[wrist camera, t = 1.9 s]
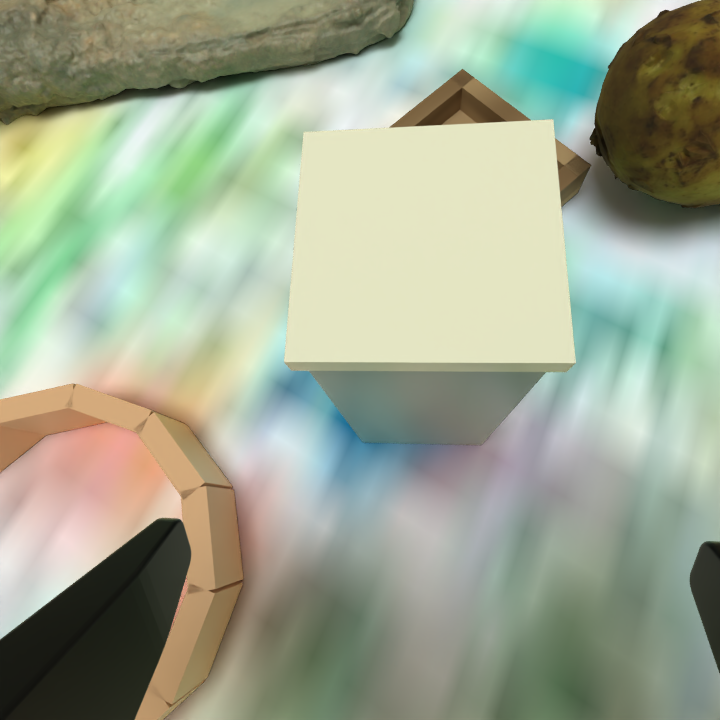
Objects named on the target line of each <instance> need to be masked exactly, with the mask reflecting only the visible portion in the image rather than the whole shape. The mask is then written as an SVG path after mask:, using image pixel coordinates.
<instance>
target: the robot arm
mask: <svg viewBox="0 0 720 720" xmlns="http://www.w3.org/2000/svg"><path fill="white" fill-rule="evenodd" d="M190 562H191V547H190V544H189V540H188V537H187V533H186V530H185V527H184V524H183V522H182V521H181V520H180V519H174V518H160V519H157V520H156V521H154V522H153V523H152V524H150V525H149V526H148V527H146V528H145V529H144V530H142V531H141V532H140V533H138V534H137V535H136V536H135V537H133V538H132V539H131V540H129V541H128V542H127V543H125V544H124V545H123V546H122V547H120V548H119V549H118V550H116V551H115V552H114V553H112V554H111V555H110V556H109V557H107V558H106V559H105V560H103V561H102V562H101V563H99V564H98V565H97V566H95V567H94V568H93V569H92V570H90V571H89V572H88V573H86V574H85V575H84V576H82V577H81V578H80V579H79V580H77V581H76V582H75V583H73V584H72V585H71V586H69V587H68V588H67V589H65V590H64V591H63V592H62V593H60V594H59V595H58V596H56V597H55V598H54V599H52V600H51V601H50V602H49V603H47V604H46V605H45V606H43V607H42V608H41V609H39V610H38V611H37V612H36V613H34V614H33V615H32V616H30V617H29V618H28V619H26V620H25V621H24V622H22V623H21V624H20V625H19V626H17V627H16V628H15V629H13V630H12V631H11V632H9V633H8V634H7V635H6V636H4V637H3V638H2V639H0V720H135V718H136V715H137V713H138V711H139V708H140V706H141V703H142V701H143V699H144V696H145V694H146V691H147V689H148V686H149V684H150V682H151V679H152V677H153V674H154V672H155V669H156V667H157V665H158V662H159V660H160V657H161V655H162V652H163V649H164V647H165V644H166V641H167V638H168V635H169V632H170V629H171V625H172V622H173V619H174V615H175V612H176V609H177V606H178V602H179V599H180V596H181V592H182V589H183V586H184V582H185V579H186V576H187V572H188V569H189V566H190ZM690 587H691V591H692V594H693V597H694V600H695V603H696V606H697V608H698V611H699V614H700V617H701V620H702V623H703V626H704V629H705V632H706V635H707V638H708V641H709V644H710V647H711V650H712V653H713V655H714V658H715V661H716V664H717V667H718V670H719V673H720V542H715V541H707V542H704V543H703V544H702V545H701V547H700V549H699V552H698V554H697V557H696V560H695V562H694V565H693V568H692V570H691V573H690Z"/></svg>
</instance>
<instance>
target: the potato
mask: <svg viewBox="0 0 720 720" xmlns="http://www.w3.org/2000/svg"><path fill="white" fill-rule="evenodd" d="M608 68H609V70H608V73H607V75H606V77H605V80H604V82H603V85H602V89H601V93H600V97H599V100H598V103H597V107H596V113H595V128H594V130H593V133H592V135H591V136H590V140H591V142H590V143H591V145H594V146H595V147H596V154H597V155H598V156H603V159H604V160H605V162H606V164H607V165H608V166H609V167H610V169H611V170H612V172H613V173H614V174H615V179H616V178H619V179H620V180H621V181H622V182H623V183H625V184H627V185H628V188H630V189H633V190H639V191H642V192H644V193H646V194H648V195H650V196H651V197H653V198H655V199H658V200H664V201H667V202H670V203H676V204H680V205H681V206H682V207H686V208H697V207H705V206H708V205H716V204H720V0H701V1H697V2H694V3H691V4H688V5H686V6H683V7H680V8H678V9H675V10H672V11H669V10H664V11H662V12H660V13H659V15H658V16H657V18H655V19H654V20H652V21H651V22H649V23H648V24H646V25H645V26H643V27H642V28H640V29H639V30H638V31H637V32H636V33H635V34H634V35H633V36H632V37H631V38H630V39H629V40H628V41H627V42H625V43H624V44H623V45H622V46H621V47H620V49H619V50H618V52H617V54H616V56H615V57H614V59H613V61H612V62H611V63H610V65H609V66H608Z"/></svg>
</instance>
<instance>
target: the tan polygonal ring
mask: <svg viewBox="0 0 720 720" xmlns="http://www.w3.org/2000/svg"><path fill="white" fill-rule="evenodd" d="M106 422H109V423H112V424H114V425H117V426H120V427H123V428H125V429H128V430H131V431H134V432H136V433H137V434H138V436H139V437H140V439H141V440H142V441H143V443H144V444H145V446H146V447H147V449H148V450H149V451H150V453H151V454H152V456H153V457H154V459H155V460H156V461H157V463H158V464H159V466H160V467H161V469H162V470H163V471H164V473H165V474H166V476H167V477H168V479H169V480H170V481H171V483H172V484H173V486H174V487H175V489H176V490H177V491H178V493H179V494H180V496H181V504H182V517H183V524H184V527H185V530H186V533H187V537H188V540H189V544H190V547H191V562H190V566H189V569H188V572H187V584H188V589H187V592H186V594H185V597H184V599H183V602H182V604H181V607H180V609H179V612H178V614H177V617H176V619H175V622H174V624H173V627H172V629H171V632H170V634H169V637H168V639H167V642H166V644H165V647H164V649H163V652H162V655H161V657H160V660H159V662H158V665H157V667H156V669H155V672H154V674H153V677H152V679H151V682H150V684H149V686H148V689H147V691H146V694H145V696H144V699H143V701H142V703H141V706H140V708H139V711H138V713H137V715H136V718H135V720H163V719H164V718H165V717H166V716H167V715H168V714H170V713H171V712H172V711H173V710H174V709H175V708H176V707H177V706H178V705H179V704H180V703H182V702H183V701H184V700H185V699H186V698H187V697H188V696H189V695H190V694H191V693H192V692H194V691H195V690H196V689H197V688H198V687H199V686H200V685H201V684H202V683H203V682H204V681H205V679H206V678H207V677H208V675H209V672H210V670H211V667H212V664H213V662H214V659H215V656H216V654H217V651H218V648H219V646H220V643H221V640H222V638H223V635H224V632H225V630H226V627H227V624H228V622H229V619H230V616H231V614H232V611H233V608H234V606H235V603H236V600H237V598H238V595H239V592H240V590H241V587H242V584H243V583H242V582H240V581H239V580H242V579H244V578H243V569H242V560H241V550H240V541H239V532H238V522H237V513H236V504H235V494H234V490H231V488H232V487H233V486H232V485H231V484H230V482H229V481H228V480H227V478H226V477H225V476H224V474H223V473H222V472H221V470H220V469H219V468H218V466H217V465H216V463H215V462H214V461H213V459H212V458H211V457H210V455H209V454H208V453H207V451H206V450H205V449H204V447H203V446H202V445H201V443H200V442H199V441H198V439H197V438H196V437H195V435H194V434H193V433H192V431H191V430H190V428H189V427H188V426H187V425H185V423H182V422H180V421H177V420H175V419H172V418H170V417H167V416H165V415H162V414H160V413H157V412H155V411H152V410H150V409H147V408H144V407H141V406H138V405H135V404H133V403H130V402H127V401H124V400H121V399H118V398H116V397H113V396H110V395H107V394H104V393H101V392H98V391H96V390H93V389H90V388H87V387H84V386H81V385H79V384H69V385H64V386H60V387H55V388H51V389H46V390H42V391H37V392H33V393H28V394H24V395H19V396H14V397H10V398H5V399H1V400H0V472H1V471H2V470H4V469H5V468H6V467H7V466H9V465H10V464H11V463H12V462H14V461H15V460H16V459H17V458H18V457H20V456H21V455H22V454H23V453H25V452H26V451H27V450H28V449H30V448H31V447H32V446H33V445H35V444H36V443H37V442H38V441H39V440H41V439H42V438H43V437H44V436H46V435H50V434H55V433H59V432H64V431H69V430H73V429H78V428H83V427H87V426H92V425H96V424H101V423H106Z"/></svg>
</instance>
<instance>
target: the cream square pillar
mask: <svg viewBox="0 0 720 720" xmlns="http://www.w3.org/2000/svg"><path fill="white" fill-rule="evenodd" d="M284 363H285V364H286V365H287V366H288V367H289V368H290V369H291V371H309V372H310V373H311V374H312V376H313V377H314V378H315V380H316V381H317V382H318V384H319V385H320V386H321V387H322V389H323V390H324V391H325V393H326V394H327V395H328V397H329V398H330V399H331V401H332V402H333V403H334V405H335V406H336V407H337V409H338V410H339V411H340V413H341V414H342V415H343V417H344V418H345V419H346V421H347V422H348V423H349V425H350V426H351V427H352V429H353V430H354V431H355V433H356V434H357V435H358V437H359V438H360V439H361V441H362V442H363V443H400V444H445V445H482V444H483V443H484V442H485V440H486V439H487V438H488V437H489V436H490V435H491V434H492V433H493V431H494V430H495V429H496V428H497V427H498V426H499V425H500V424H501V422H502V421H503V420H504V419H505V418H506V417H507V416H508V414H509V413H510V412H511V411H512V410H513V409H514V408H515V407H516V405H517V404H518V403H519V402H520V401H521V400H522V399H523V398H524V396H525V395H526V394H527V393H528V392H529V391H530V390H531V388H532V387H533V386H534V385H535V384H536V383H537V382H538V381H539V379H540V378H541V377H542V376H543V375H544V374H545V373H546V372H567V371H568V370H569V369H570V368H571V367H572V366H573V365H574V364H575V363H576V361H575V350H574V339H573V329H572V318H571V307H570V296H569V285H568V274H567V264H566V253H565V242H564V231H563V220H562V210H561V199H560V188H559V177H558V166H557V155H556V145H555V134H554V123H553V119H552V120H532V121H513V122H493V123H473V124H453V125H434V126H414V127H394V128H374V129H355V130H335V131H315V132H304V134H303V146H302V158H301V169H300V181H299V193H298V205H297V216H296V228H295V240H294V251H293V263H292V275H291V287H290V298H289V310H288V322H287V334H286V345H285V357H284Z"/></svg>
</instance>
